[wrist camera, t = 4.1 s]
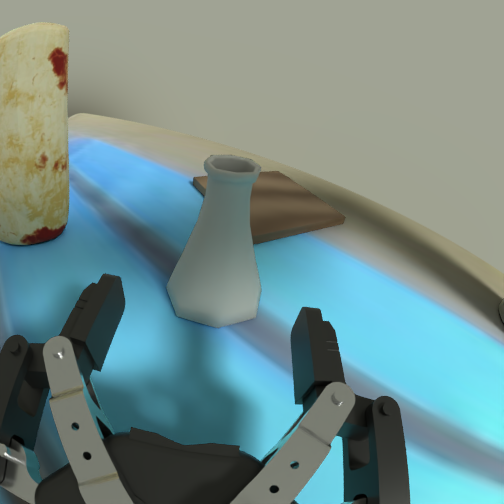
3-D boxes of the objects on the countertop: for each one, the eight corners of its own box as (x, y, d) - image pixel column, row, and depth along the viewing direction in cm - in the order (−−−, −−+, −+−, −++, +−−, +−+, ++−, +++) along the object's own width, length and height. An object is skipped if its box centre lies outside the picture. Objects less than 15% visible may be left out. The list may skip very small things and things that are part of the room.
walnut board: (342, 223, 34) (345, 216, 33) (251, 245, 26) (253, 236, 26) (276, 176, 42) (278, 171, 42) (192, 184, 35) (193, 177, 34)
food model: (-8, 263, 17) (-38, 43, 5) (5, 225, 21) (-10, 45, 9) (77, 246, 21) (73, 10, 10) (79, 211, 26) (81, 23, 14)
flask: (169, 258, 23) (174, 141, 17) (253, 262, 24) (279, 152, 18) (163, 328, 17) (158, 184, 11) (269, 330, 19) (316, 199, 13)
